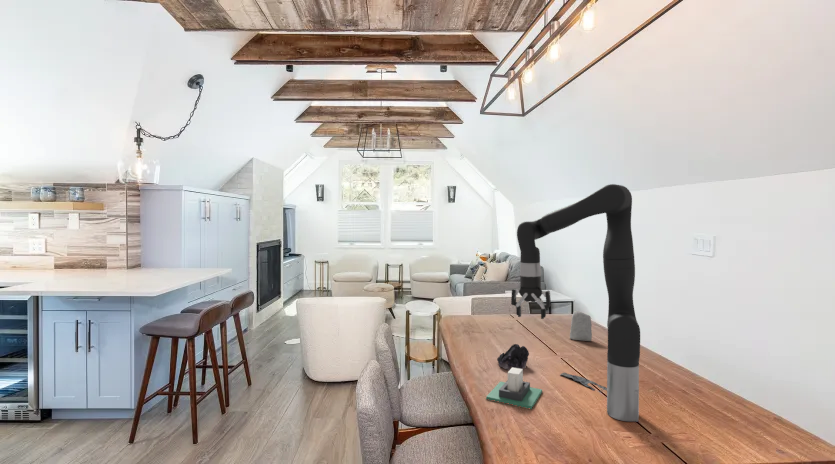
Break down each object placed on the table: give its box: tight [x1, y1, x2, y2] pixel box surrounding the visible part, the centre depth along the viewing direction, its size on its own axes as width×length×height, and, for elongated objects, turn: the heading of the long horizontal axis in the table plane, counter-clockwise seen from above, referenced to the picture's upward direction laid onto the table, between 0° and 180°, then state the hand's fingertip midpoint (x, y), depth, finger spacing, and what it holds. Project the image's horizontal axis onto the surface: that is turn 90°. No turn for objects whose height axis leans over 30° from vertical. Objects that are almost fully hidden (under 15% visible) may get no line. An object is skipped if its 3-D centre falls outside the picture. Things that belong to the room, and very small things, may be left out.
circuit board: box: [485, 379, 543, 410], centre depth 149 cm, size 16×16×4 cm
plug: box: [507, 367, 524, 392], centre depth 149 cm, size 4×7×8 cm, turn 152°
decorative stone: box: [569, 310, 593, 342], centre depth 219 cm, size 11×6×15 cm, turn 58°
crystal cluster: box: [496, 343, 530, 371], centre depth 180 cm, size 13×14×10 cm
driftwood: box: [559, 371, 607, 393], centre depth 161 cm, size 21×7×2 cm, turn 25°
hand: (530, 317), depth 154 cm, fingers open, 8 cm apart
